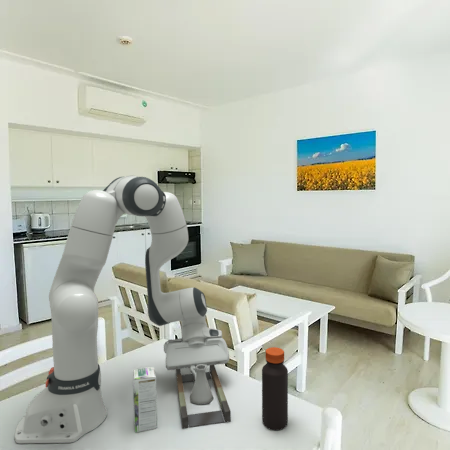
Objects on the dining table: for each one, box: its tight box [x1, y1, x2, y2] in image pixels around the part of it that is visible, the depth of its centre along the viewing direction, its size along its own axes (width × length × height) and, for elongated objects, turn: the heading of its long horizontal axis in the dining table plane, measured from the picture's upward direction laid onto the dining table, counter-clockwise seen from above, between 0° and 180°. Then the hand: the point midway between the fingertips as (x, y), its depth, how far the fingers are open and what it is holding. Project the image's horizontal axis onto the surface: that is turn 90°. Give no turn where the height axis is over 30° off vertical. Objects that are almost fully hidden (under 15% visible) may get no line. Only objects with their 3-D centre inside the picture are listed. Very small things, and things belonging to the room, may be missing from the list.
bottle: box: [261, 346, 289, 431], centre depth 94 cm, size 7×7×20 cm
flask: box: [189, 364, 214, 406], centre depth 106 cm, size 7×7×10 cm
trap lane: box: [175, 365, 232, 429], centre depth 107 cm, size 13×27×3 cm, turn 11°
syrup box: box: [132, 366, 158, 433], centre depth 95 cm, size 6×6×14 cm
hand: (199, 380), depth 108 cm, fingers closed, pressing on flask
